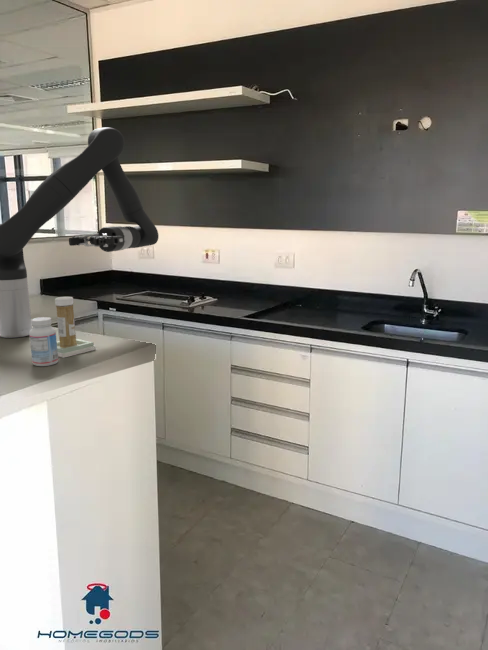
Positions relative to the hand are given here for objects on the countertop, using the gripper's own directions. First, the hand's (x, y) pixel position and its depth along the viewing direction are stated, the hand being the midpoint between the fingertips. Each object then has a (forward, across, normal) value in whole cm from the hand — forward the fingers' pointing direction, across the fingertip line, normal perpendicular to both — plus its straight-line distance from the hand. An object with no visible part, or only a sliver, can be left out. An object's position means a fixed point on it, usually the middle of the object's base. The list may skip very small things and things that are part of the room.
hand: (82, 241), depth 155 cm
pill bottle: (+26, +6, +28) cm, 39 cm away
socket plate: (+14, +3, +28) cm, 31 cm away
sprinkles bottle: (+14, +3, +27) cm, 31 cm away
